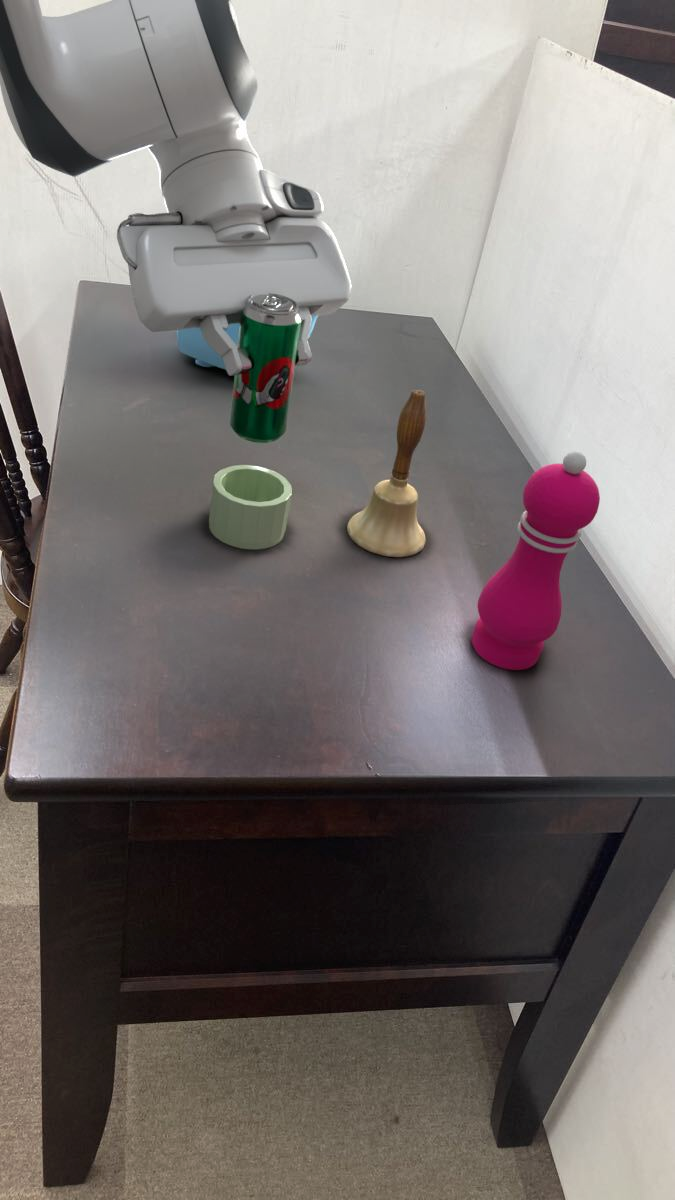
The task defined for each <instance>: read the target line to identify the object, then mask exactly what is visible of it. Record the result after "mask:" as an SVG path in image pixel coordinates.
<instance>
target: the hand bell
mask: <svg viewBox="0 0 675 1200" xmlns="http://www.w3.org/2000/svg"><path fill="white" fill-rule="evenodd" d="M426 405H427V404H426V393H425V391H424V390H421V389H412V391H411V393H410V395H409V397H408V399H406V402H405V403H404V405H403V407H402V409H401V411H400V413H399V417H398V421H397V426H396V443H397V449H396V450H397V451H396V454H395V455H396V456H395V459H394V462H393V468H392V469H391V476H390V479H384V480H381V481H379V482H378V483H376V485H375V486H374V488H373V491H372V493H371V497H370V498H369V500H368V503H367V504H366V506H365V507H364V508H363V510H360V511H359V512H357V513H355V514H354V515H353V516H352V517H351V518H350V519H349V520H348V522H347V525H346V531H347V534H348V536H349V537H350V539H351V540H352V541H353V543H355V544H356V545H358V547H360V548H361V549H363V550H366V551H367V552H371V553H372V554H374V555H375V554H376V555H379V556H383V557H389V558H404V557H410V556H414V555H416V554H418V553H419V552H422V550H423V549H424V547H425V546H426V543H427V542H426V534H425V531H424V530H423V528H422V527H421V524H419V522H418V516H417V508H418V499H419V495H418V491H417V490H416V488H414V487H413V486H412V485H411V484H409V482H408V481H409V476H410V469H411V463H412V460H413V459H412V458H413V454H414V452H415V450H416V448H417V446H418V445H419V443H420V442H421V439H422V437H423V434H424V431H425V426H426V422H427V406H426Z"/></svg>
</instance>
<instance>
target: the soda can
mask: <svg viewBox="0 0 675 1200" xmlns="http://www.w3.org/2000/svg"><path fill="white" fill-rule="evenodd" d="M268 294H269V295H258V296H255V297H254V298H253V299H251V298H252V296H253V295H250V296H248V298H247V303H246V305H245V307H244V308H243V310H242V311H241V317H240V327H239V338H238V348H244V347H246V349H247V351H248V354H249V356H248V358H249V359H250V360H251V363H252V367H251V369H250V370H249V371H247V372H246V373H245V374H239V375H234V378H233V379H234V380H233V388H232V389H233V390H232V399H231V409H230V420H229V425H230V428H231V429H232V431H233V432H234V433H235V434H236V435H237V436H238V437H240V438H241V439H243V440H245V441H247V442H251V443H257V444H269V443H273V442H275V441H277V440H279V439H280V438H281V437H283V436H284V435H285V434H286V432H287V425H288V418H289V411H290V403H291V397H292V391H293V390H292V389H293V383H294V376H295V371H296V369H295V368H296V366H295V363H296V356H297V349H298V342H299V335H300V327H301V316H300V314H299V312H298V309H299V305H298V304H297V302H295V301H294V300H292V299H290V298H288V297H286V296H283V295H279V294H273V293H268Z"/></svg>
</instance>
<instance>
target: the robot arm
mask: <svg viewBox="0 0 675 1200" xmlns="http://www.w3.org/2000/svg"><path fill="white" fill-rule="evenodd" d="M258 88H259V87H258V80H257V76H256V73H255V70H254V68H253V66H252V64H251V61H250V59H249V56H248V54H247V52H246V50H245V47H244V45H243V42H242V37H241V30H240V26H239V21H238V16H237V13H236V9H235V7H234V5H233V3H232V1H231V0H109V1H106V2H102V3H100V4H97V5H93V6H91V7H88V8H85V9H81V10H79V11H76V12H73V13H70V14H66V15H60V16H47V15H46V16H45V15H43V13H42V9H41V5H40V2H39V0H0V91H1V95H2V99H3V100H2V101H3V103H4V107H5V110H6V113H7V115H8V118H9V121H10V123H11V125H12V128H13V130H14V133H16V135H17V137H18V140H19V141H20V142H21V144H22V145H23V147H24V148H25V149H26V150H27V152H29V154H30V156H31V158H32V159H34V160H35V161H37V162H39V163H40V164H42V165H44V166H46V167H48V168H50V169H52V170H55V171H57V172H60V173H62V174H64V175H68V176H70V177H73V178H76V177H79V176H81V175H83V174H86V173H88V172H91V171H92V170H95V169H97V168H99V167H102V166H104V165H107V164H108V163H110V162H112V160H113V159H114V160H115V159H117V158H119V157H120V158H121V157H122V156H126V155H129V154H131V153H134V152H137V151H140V150H143V149H148V151H149V153H150V154H151V156H152V157H153V159H154V160H155V162H156V164H157V168H158V172H159V188H160V192H161V195H162V198H163V202H164V205H165V208H166V211H167V212H158V213H150V214H149V213H147V214H146V213H143V212H134V213H130V214H128V216H127V218H126V219H124V220H123V221H121V222H120V223H119V224H118V226H117V230H116V240H117V244H118V246H119V249H120V252H121V256H122V258H123V260H124V262H125V263H127V269H128V276H129V277H128V278H129V284H130V289H131V293H132V298H133V303H134V307H135V312H136V315H137V318H138V321H139V322H140V323H141V324H142V325H143V326H144V327H145V328H146V329H147V330H148V331H150V332H152V333H161V332H171V331H177V330H182V329H191V328H200V329H201V332H202V335H203V338H204V340H205V341H206V342H207V343H208V344H209V345H210V346H211V347H212V348H213V349H214V350H215V351H216V352H217V353H218V355H219V356H220V357H222V358H223V361H224V364H225V367H226V370H225V371H226V373H227V375H228V376H230V377H231V376H232V377H233V376H235V375H239V374H245V373H246V372H247V371H249V370H250V369H251V367H252V363H251V360H250V359H249V358H248V356H249V354H248V351H247V349H246V347H244V348H238V347H237V345H236V344H235V343H234V342H233V340H232V339H231V338H230V337H229V335H228V334H227V333H226V332H225V330H226V329H227V328H228V327H229V326H228V325H231V324H240V317H241V311H242V310H243V308H244V307H245V305H246V303H247V298H248V296H250V295H253V296H252V298H251V299H253V298H254V297H255V296H258V295H269V294H268V293H273V294H279V295H283V296H286V297H288V298H290V299H292V300H294V301H295V302H297V304H298V305H299V309H298V312H299V314H300V316H301V327H300V335H299V342H298V349H297V356H296V363H295V367H303V366H306V365H307V364H308V363H310V362H312V360H313V354H312V352H311V348H310V345H309V341H308V340H309V338H310V337H309V332H310V327H311V322H312V318H311V316H318V317H319V316H327V315H328V316H329V315H332V314H334V313H335V312H336V311H338V310H339V309H340V308H341V307H343V306H344V305H345V304H347V302H348V301H349V300H350V297H351V293H352V281H351V277H350V275H349V272H348V268H347V265H346V262H345V259H344V256H343V254H342V251H341V249H340V245H339V243H338V241H337V238H336V235H335V234H334V232H333V230H332V229H331V228H330V227H329V226H328V224H327V223H326V222H325V221H323V220H321V219H319V217H320V216H321V214H323V212H324V203H323V200H322V197H321V195H320V193H319V192H318V191H317V190H314V189H313V188H310V187H307V186H305V185H302V184H298V183H296V182H293V181H291V180H288V179H287V178H284V177H282V176H280V175H278V174H276V173H274V172H272V171H271V170H268V169H265V168H263V165H262V162H261V160H260V156H259V154H258V153H257V152H256V150H255V149H254V147H253V146H252V144H251V142H250V139H249V137H248V133H247V120H248V117H249V115H250V113H251V111H252V109H253V105H254V102H255V98H256V96H257V92H258Z"/></svg>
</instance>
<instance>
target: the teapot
mask: <svg viewBox="0 0 675 1200" xmlns="http://www.w3.org/2000/svg"><path fill="white" fill-rule="evenodd" d="M318 317H319V316H311V318H312V322H311V327H310V332H309V338H310V337H311V335H312V332H313V330H314V328H315V324H316V322H317V319H318ZM228 326H229V327H228V328H227V329H226V330H225V332H226V333H227V334H228V335H229V337H230V338H231V339H232V340H233V342H234V343H235V344H236V345H237V347H238V338H239V327H240V324H231V325H228ZM176 339H177V346H178V350H179V352H180V353H182V354H184V355H186V356H189V357H191V358H193V359H195V364H196V365H198V366H201V367H204V368H212V367H217V368H220V369H223V370H225V371H227V370H226V367H225V364H224V361H223V358H222V357H220V356H219V355H218V353H217V352H216V351H215V350H214V349H213V348H212V347H211V346H210V345H209V344H208V343H207V342H206V341H205V340H204V338H203V335H202V332H201V329H200V328H191V329H182V330H176Z"/></svg>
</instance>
